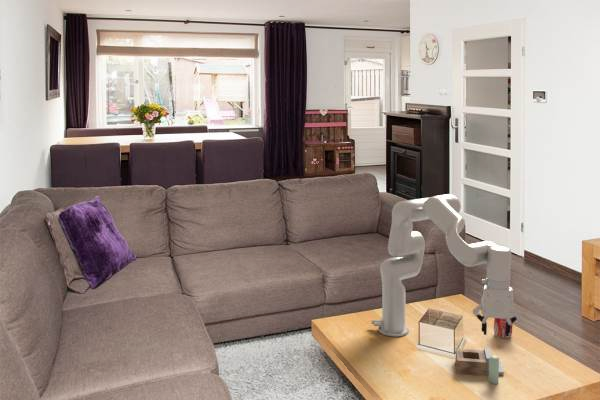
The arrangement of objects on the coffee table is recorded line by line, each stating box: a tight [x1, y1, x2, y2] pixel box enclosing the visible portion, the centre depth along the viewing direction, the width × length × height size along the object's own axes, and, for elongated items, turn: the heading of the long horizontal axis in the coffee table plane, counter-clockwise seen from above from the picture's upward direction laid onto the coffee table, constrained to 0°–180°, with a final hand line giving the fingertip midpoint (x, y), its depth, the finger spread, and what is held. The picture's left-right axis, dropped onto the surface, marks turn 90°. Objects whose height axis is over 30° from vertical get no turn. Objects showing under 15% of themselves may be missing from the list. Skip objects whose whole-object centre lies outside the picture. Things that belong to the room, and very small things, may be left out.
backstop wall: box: [483, 347, 505, 376], centre depth 217 cm, size 6×9×6 cm, turn 168°
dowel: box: [488, 354, 500, 385], centre depth 207 cm, size 3×3×9 cm
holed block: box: [455, 348, 487, 377], centre depth 218 cm, size 10×10×5 cm
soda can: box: [493, 318, 514, 339], centre depth 245 cm, size 7×7×12 cm
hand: (495, 333), depth 205 cm, fingers open, 6 cm apart
